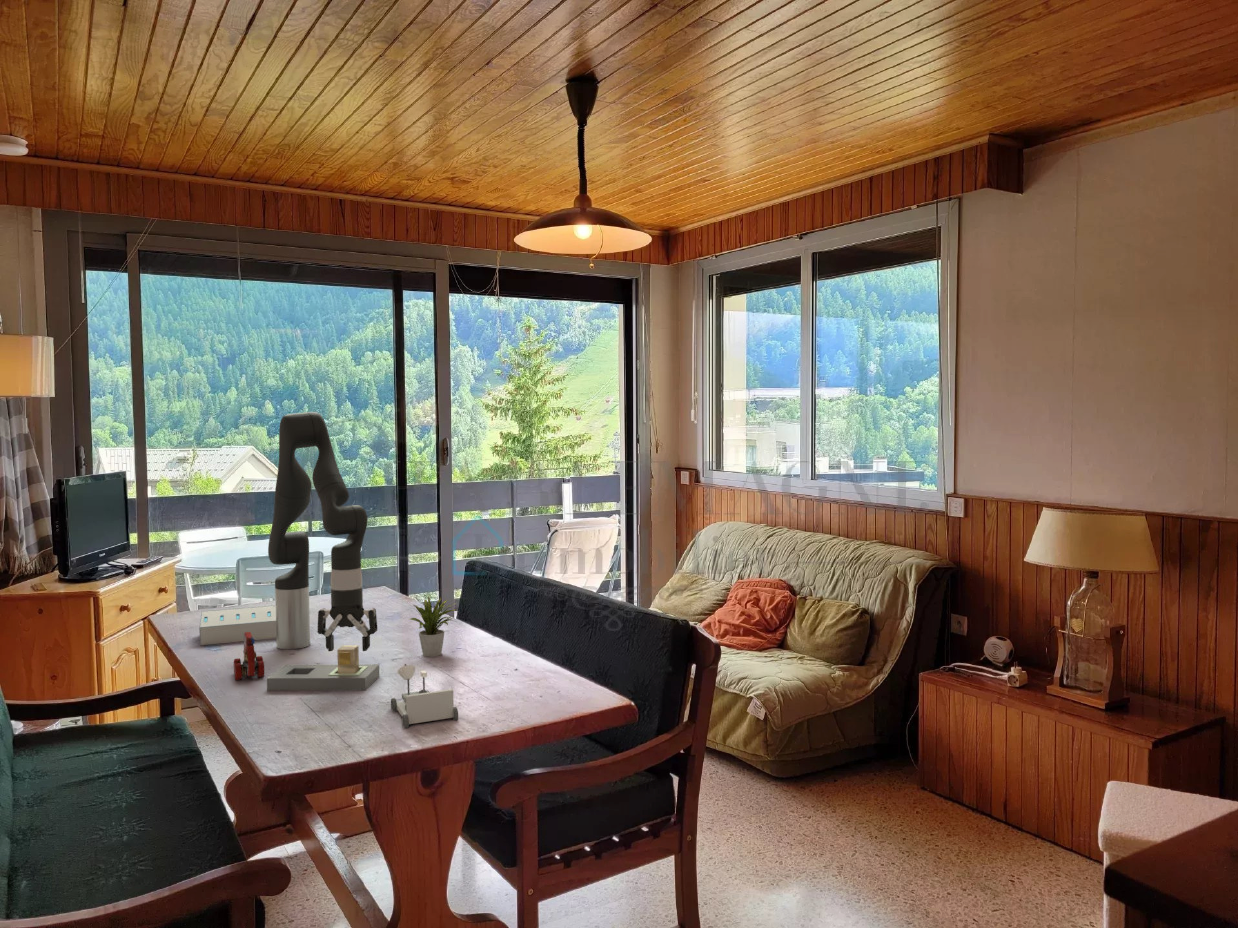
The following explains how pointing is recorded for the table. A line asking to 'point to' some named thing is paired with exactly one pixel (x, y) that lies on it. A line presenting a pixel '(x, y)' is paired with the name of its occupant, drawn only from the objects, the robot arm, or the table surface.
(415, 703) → the toy car
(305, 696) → the table surface
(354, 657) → the plug
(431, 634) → the house plant
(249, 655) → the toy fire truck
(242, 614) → the warehouse
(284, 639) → the robot arm
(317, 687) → the panel
